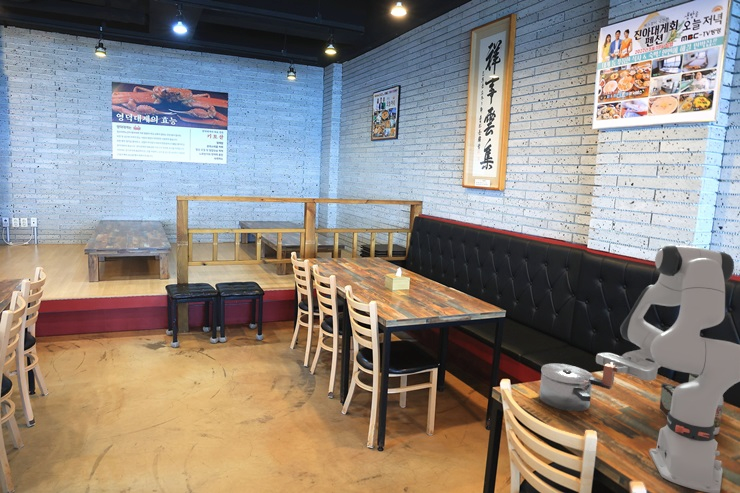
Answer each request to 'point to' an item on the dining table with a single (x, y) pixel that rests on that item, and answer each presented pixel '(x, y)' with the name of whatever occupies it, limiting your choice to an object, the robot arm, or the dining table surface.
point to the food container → (666, 397)
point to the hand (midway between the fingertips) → (612, 368)
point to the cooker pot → (565, 395)
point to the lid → (578, 375)
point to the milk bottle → (718, 415)
